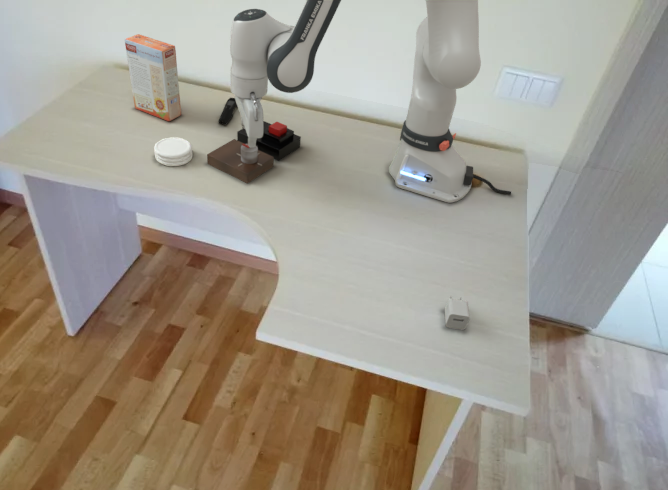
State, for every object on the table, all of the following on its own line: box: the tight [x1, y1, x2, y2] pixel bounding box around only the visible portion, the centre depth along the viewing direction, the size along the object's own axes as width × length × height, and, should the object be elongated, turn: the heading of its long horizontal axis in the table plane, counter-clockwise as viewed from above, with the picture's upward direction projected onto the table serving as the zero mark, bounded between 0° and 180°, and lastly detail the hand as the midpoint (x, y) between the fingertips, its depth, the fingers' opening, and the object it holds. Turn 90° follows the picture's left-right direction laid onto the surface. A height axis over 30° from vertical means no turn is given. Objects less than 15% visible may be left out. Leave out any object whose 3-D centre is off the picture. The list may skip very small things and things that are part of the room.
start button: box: [269, 121, 288, 136], centre depth 148 cm, size 4×4×2 cm
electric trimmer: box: [217, 97, 237, 126], centre depth 163 cm, size 4×16×3 cm, turn 171°
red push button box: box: [236, 120, 302, 162], centre depth 151 cm, size 15×10×6 cm, turn 54°
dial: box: [241, 144, 258, 164], centre depth 140 cm, size 4×4×4 cm
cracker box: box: [124, 33, 182, 122], centre depth 156 cm, size 14×6×21 cm, turn 58°
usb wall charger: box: [444, 295, 471, 331], centre depth 108 cm, size 4×7×4 cm, turn 171°
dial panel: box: [206, 138, 275, 184], centre depth 144 cm, size 14×11×3 cm
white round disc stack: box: [153, 136, 194, 167], centre depth 144 cm, size 10×10×4 cm
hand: (248, 136), depth 137 cm, fingers open, 8 cm apart
